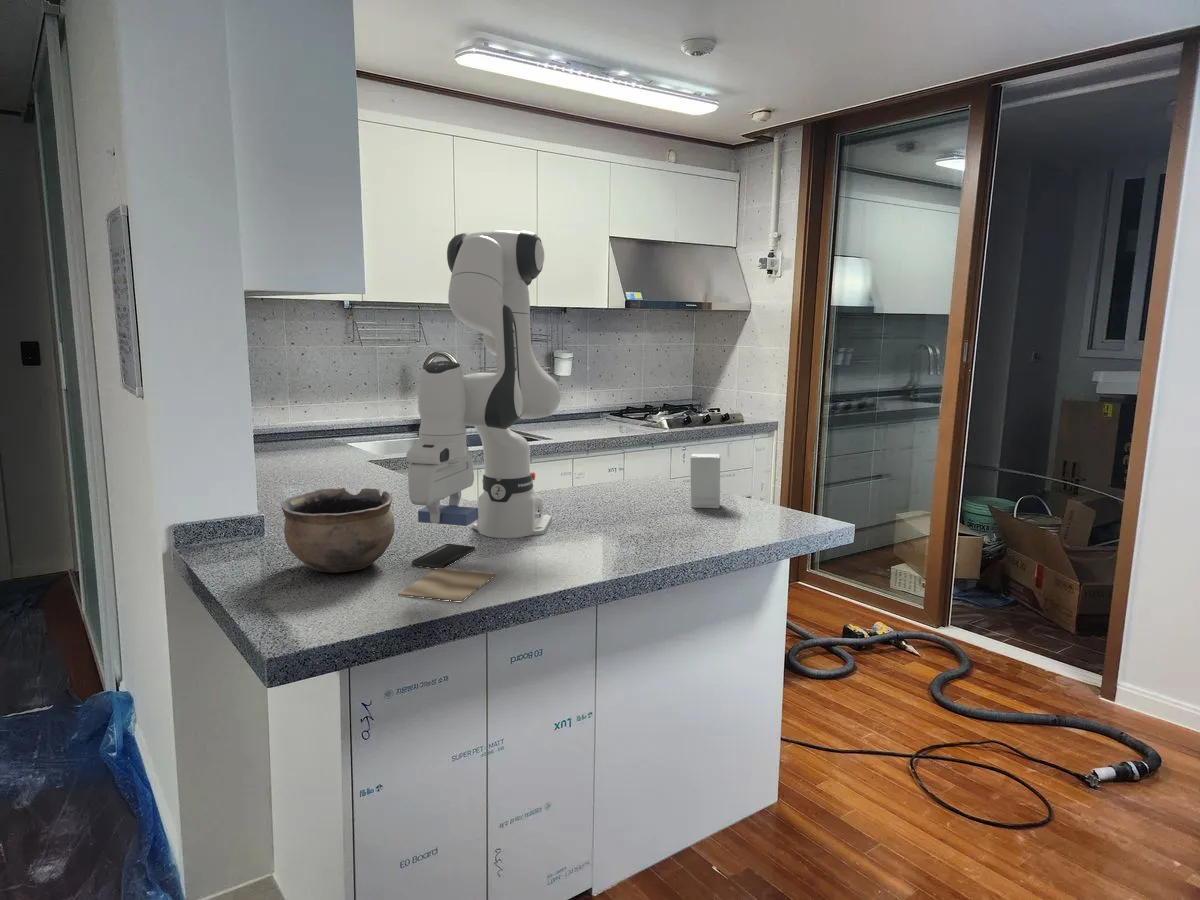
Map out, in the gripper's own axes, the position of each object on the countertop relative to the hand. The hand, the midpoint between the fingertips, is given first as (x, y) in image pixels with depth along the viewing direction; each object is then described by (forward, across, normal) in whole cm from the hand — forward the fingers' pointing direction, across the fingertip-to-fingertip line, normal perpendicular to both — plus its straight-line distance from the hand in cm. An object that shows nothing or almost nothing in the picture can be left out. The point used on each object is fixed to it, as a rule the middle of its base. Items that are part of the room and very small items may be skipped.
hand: (444, 518), depth 148 cm
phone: (+14, -16, -8) cm, 23 cm away
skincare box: (+13, -81, +40) cm, 91 cm away
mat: (+14, 0, 0) cm, 14 cm away
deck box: (-1, 0, +6) cm, 6 cm away
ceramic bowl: (+14, -3, -26) cm, 29 cm away
